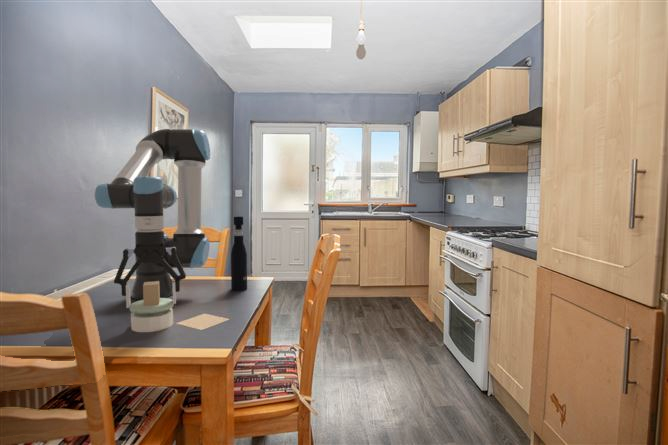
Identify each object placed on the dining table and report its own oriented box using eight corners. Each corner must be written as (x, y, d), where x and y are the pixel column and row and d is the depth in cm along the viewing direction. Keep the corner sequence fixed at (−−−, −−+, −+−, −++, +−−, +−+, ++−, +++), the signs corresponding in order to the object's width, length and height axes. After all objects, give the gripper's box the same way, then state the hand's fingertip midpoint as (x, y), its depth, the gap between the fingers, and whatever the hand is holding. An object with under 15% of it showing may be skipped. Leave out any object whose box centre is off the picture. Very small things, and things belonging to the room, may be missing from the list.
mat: (175, 326, 116) (175, 323, 116) (204, 316, 126) (204, 313, 126) (201, 333, 111) (201, 330, 111) (229, 322, 120) (229, 319, 120)
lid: (126, 315, 106) (126, 289, 106) (132, 303, 117) (131, 280, 117) (172, 311, 111) (172, 286, 110) (174, 300, 121) (173, 277, 121)
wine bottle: (232, 287, 164) (231, 216, 162) (248, 287, 165) (247, 216, 163) (230, 291, 158) (228, 217, 156) (246, 290, 159) (245, 217, 156)
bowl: (123, 330, 112) (122, 313, 112) (157, 320, 122) (156, 304, 121) (147, 338, 107) (147, 320, 107) (180, 326, 116) (180, 309, 116)
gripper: (99, 233, 104) (102, 312, 106) (193, 230, 113) (195, 304, 115) (105, 230, 111) (108, 305, 113) (193, 228, 120) (195, 297, 122)
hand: (152, 304), depth 114 cm, fingers closed on lid, 11 cm apart
